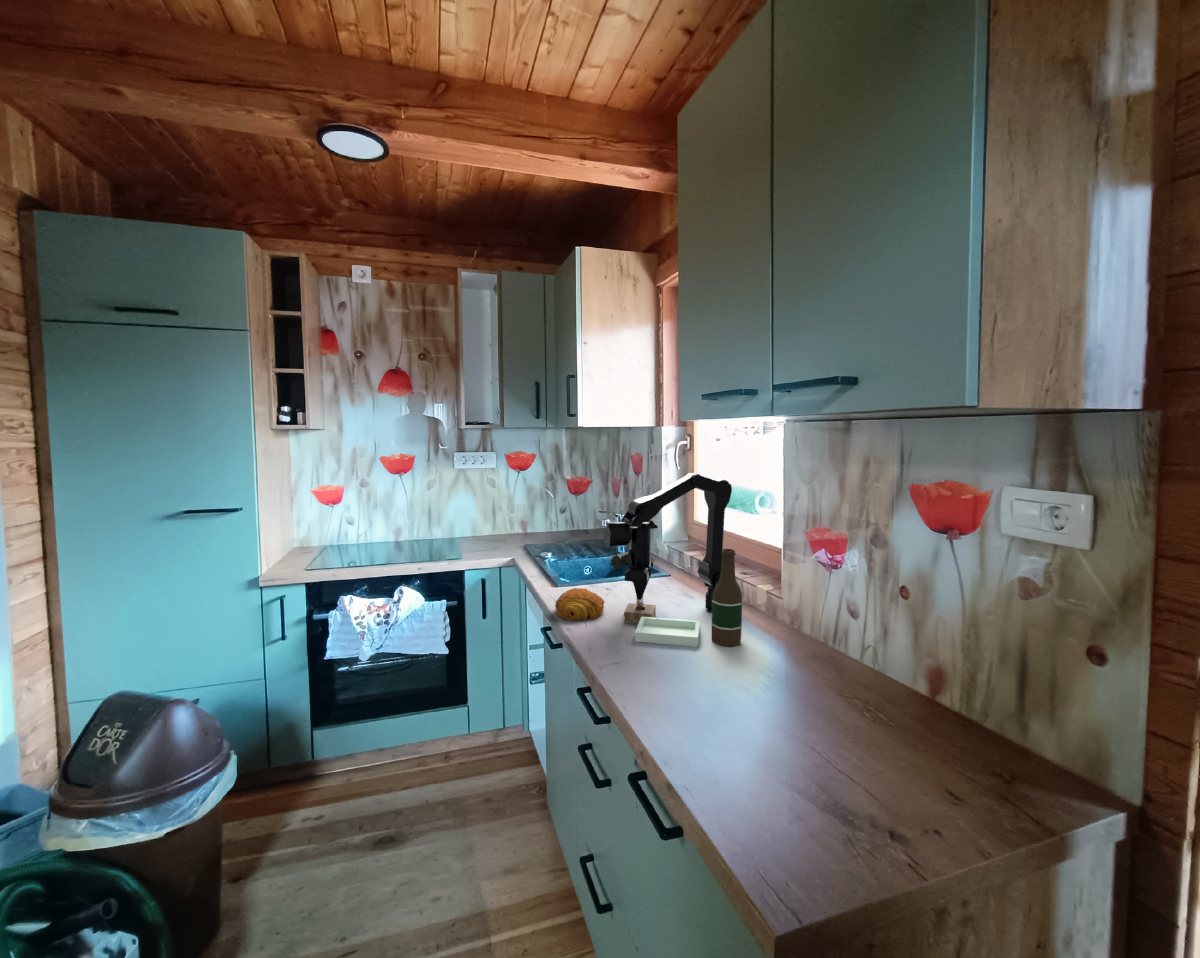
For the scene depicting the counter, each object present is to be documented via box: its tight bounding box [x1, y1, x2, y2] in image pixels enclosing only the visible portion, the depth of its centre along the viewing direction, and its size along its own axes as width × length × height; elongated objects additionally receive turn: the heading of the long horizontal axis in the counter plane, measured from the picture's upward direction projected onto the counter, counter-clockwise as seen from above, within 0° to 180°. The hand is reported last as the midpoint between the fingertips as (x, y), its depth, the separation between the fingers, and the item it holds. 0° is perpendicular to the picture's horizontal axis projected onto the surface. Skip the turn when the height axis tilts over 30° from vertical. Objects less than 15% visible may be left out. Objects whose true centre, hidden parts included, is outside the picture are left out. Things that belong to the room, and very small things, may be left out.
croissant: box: [554, 587, 605, 621], centre depth 159 cm, size 14×16×8 cm
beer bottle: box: [710, 548, 743, 648], centre depth 137 cm, size 8×8×24 cm
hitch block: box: [623, 602, 657, 624], centre depth 155 cm, size 8×8×3 cm
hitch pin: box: [636, 592, 645, 610], centre depth 154 cm, size 3×3×8 cm
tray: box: [634, 617, 701, 648], centre depth 142 cm, size 16×12×2 cm
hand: (640, 597), depth 154 cm, fingers closed on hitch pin, 3 cm apart
